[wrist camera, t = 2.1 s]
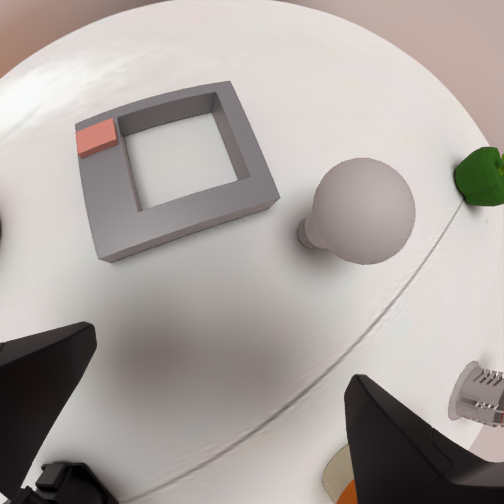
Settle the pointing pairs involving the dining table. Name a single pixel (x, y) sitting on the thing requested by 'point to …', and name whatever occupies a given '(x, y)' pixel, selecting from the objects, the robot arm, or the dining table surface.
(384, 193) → the lightbulb
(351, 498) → the reusable coffee cup
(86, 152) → the socket
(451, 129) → the dining table surface
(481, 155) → the bell pepper
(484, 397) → the french press
